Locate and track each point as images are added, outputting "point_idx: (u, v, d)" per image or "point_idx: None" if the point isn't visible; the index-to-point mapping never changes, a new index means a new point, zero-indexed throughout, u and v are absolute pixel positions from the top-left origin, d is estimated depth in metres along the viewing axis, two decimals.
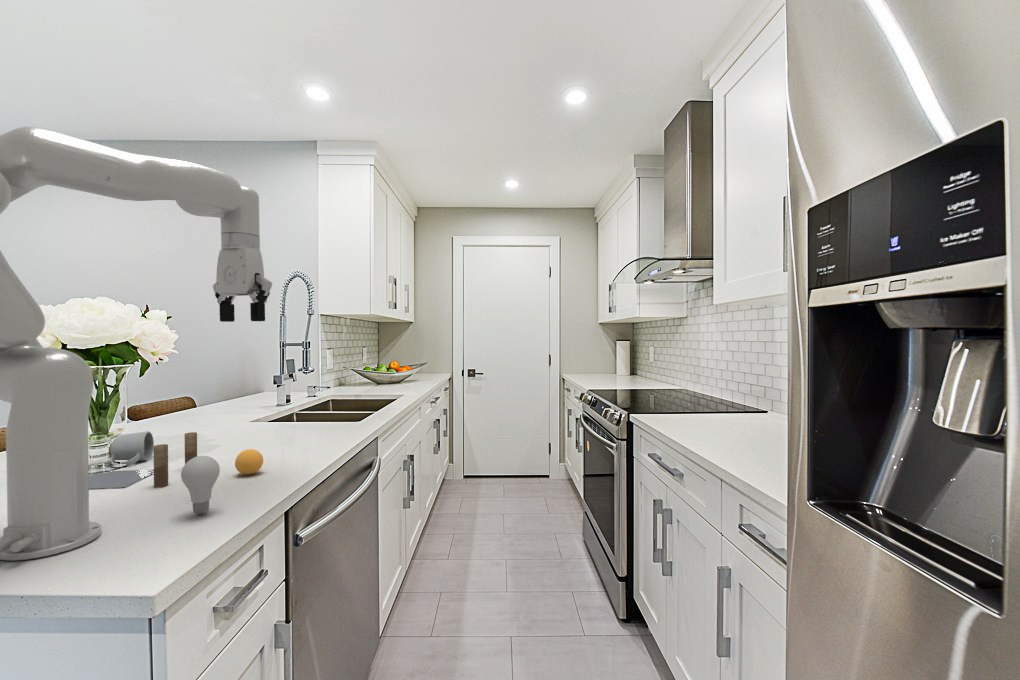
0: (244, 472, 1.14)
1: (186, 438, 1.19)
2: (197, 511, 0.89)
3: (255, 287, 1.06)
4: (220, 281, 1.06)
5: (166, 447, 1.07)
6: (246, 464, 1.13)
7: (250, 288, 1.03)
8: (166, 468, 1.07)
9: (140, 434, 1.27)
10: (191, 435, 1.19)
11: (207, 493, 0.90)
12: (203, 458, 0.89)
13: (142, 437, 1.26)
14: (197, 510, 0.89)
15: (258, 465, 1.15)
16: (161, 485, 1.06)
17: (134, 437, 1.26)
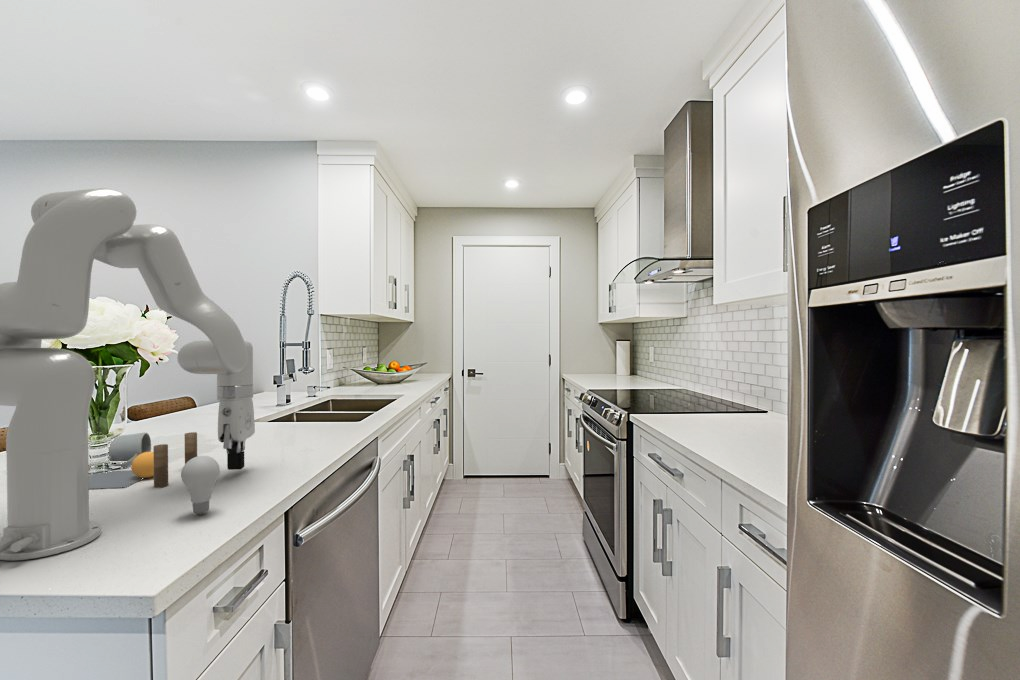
0: (147, 471, 1.11)
1: (186, 438, 1.19)
2: (197, 511, 0.89)
3: None
4: (242, 429, 1.13)
5: (166, 447, 1.07)
6: (140, 464, 1.10)
7: None
8: (166, 468, 1.07)
9: (137, 435, 1.26)
10: (191, 435, 1.19)
11: (207, 493, 0.90)
12: (203, 458, 0.89)
13: (139, 438, 1.25)
14: (197, 510, 0.89)
15: (153, 457, 1.12)
16: (161, 485, 1.06)
17: (131, 438, 1.25)
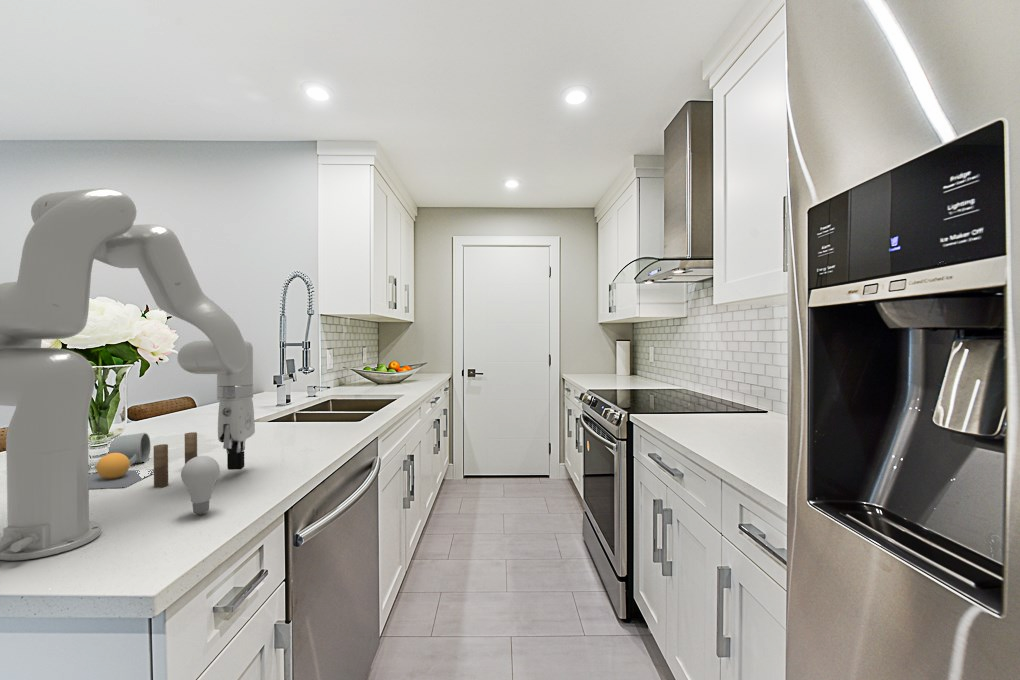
0: (104, 461, 1.10)
1: (186, 438, 1.19)
2: (197, 511, 0.89)
3: None
4: (242, 429, 1.13)
5: (166, 447, 1.07)
6: (101, 472, 1.09)
7: None
8: (166, 468, 1.07)
9: (136, 435, 1.25)
10: (191, 435, 1.19)
11: (207, 493, 0.90)
12: (203, 458, 0.89)
13: (139, 439, 1.24)
14: (197, 510, 0.89)
15: None
16: (161, 485, 1.06)
17: (130, 438, 1.24)
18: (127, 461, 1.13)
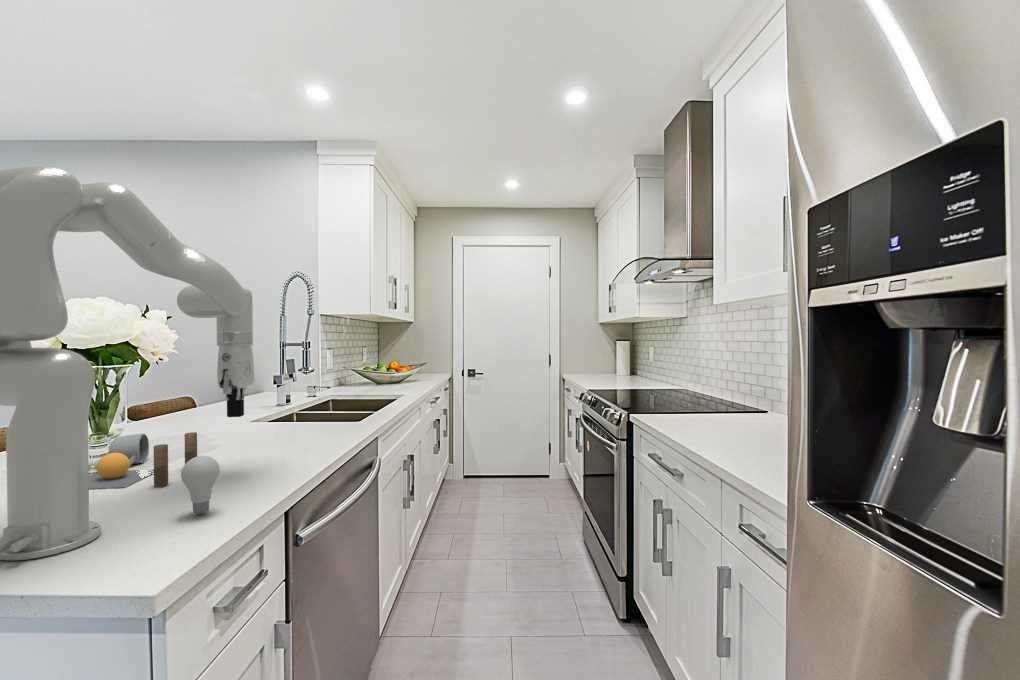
0: (104, 461, 1.10)
1: (186, 438, 1.19)
2: (197, 511, 0.89)
3: None
4: (242, 375, 1.12)
5: (166, 447, 1.07)
6: (101, 472, 1.09)
7: None
8: (166, 468, 1.07)
9: (135, 436, 1.24)
10: (191, 435, 1.19)
11: (207, 493, 0.90)
12: (203, 458, 0.89)
13: (137, 439, 1.24)
14: (197, 510, 0.89)
15: None
16: (161, 485, 1.06)
17: (129, 439, 1.23)
18: (127, 461, 1.13)
